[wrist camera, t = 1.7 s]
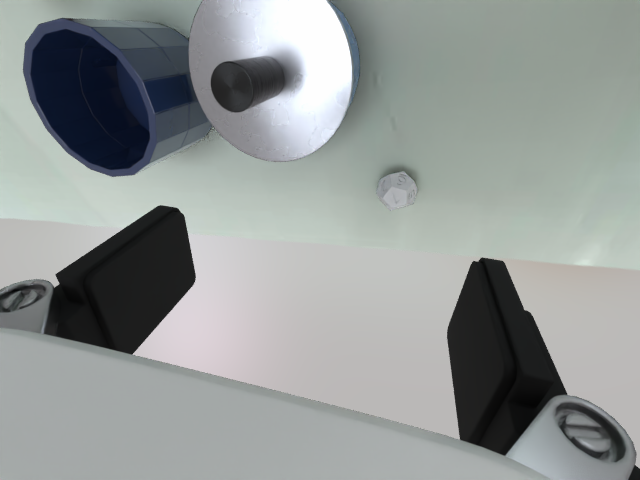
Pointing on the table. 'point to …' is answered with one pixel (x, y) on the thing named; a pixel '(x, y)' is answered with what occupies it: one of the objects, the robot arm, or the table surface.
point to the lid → (271, 74)
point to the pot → (114, 91)
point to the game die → (396, 190)
